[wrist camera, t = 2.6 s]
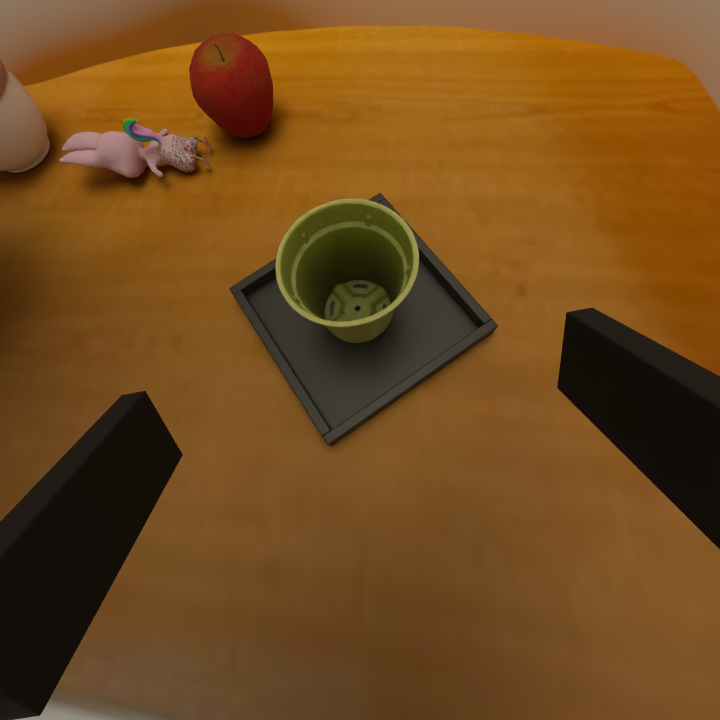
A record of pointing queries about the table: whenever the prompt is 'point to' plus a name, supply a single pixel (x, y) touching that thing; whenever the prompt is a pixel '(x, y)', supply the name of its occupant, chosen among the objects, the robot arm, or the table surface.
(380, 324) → the plant pot
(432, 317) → the drip tray
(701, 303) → the table surface
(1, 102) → the trinket box
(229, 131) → the apple
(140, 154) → the pink toy figurine
